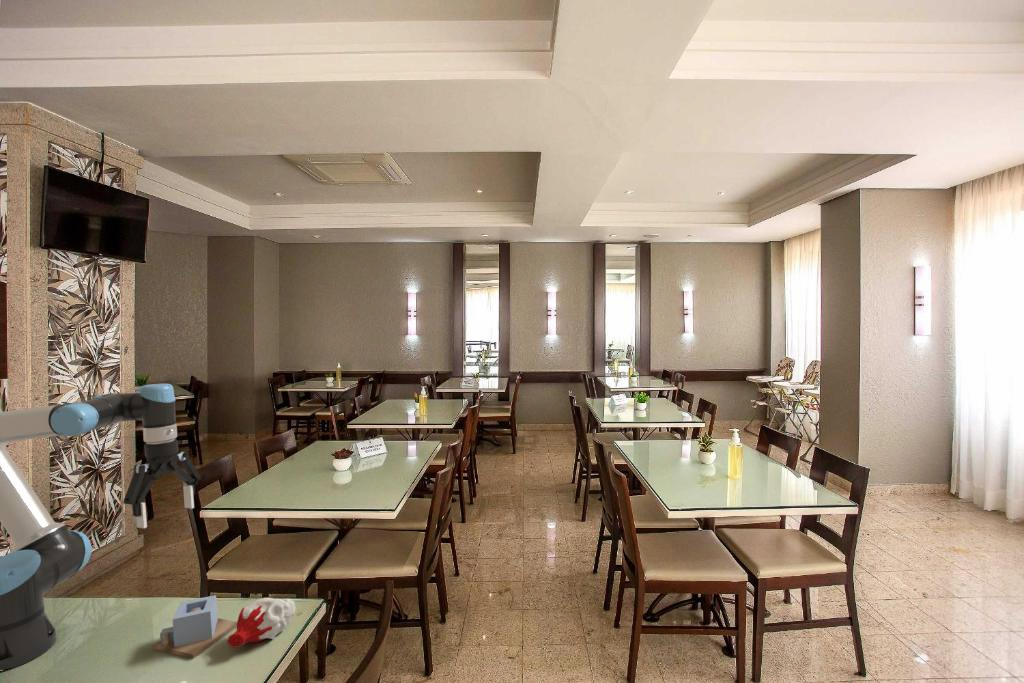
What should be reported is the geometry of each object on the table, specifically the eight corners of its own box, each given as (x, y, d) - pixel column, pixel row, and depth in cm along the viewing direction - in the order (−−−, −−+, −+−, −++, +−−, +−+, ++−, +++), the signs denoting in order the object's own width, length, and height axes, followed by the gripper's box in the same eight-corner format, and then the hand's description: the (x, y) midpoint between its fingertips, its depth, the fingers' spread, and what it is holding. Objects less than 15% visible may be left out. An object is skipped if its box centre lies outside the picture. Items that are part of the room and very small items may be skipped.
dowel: (162, 646, 124) (161, 634, 124) (166, 643, 125) (166, 631, 125) (165, 647, 123) (164, 635, 123) (170, 644, 125) (169, 632, 124)
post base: (153, 649, 124) (151, 621, 124) (200, 618, 137) (199, 593, 136) (193, 658, 120) (191, 630, 120) (238, 625, 133) (236, 600, 132)
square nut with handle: (217, 620, 134) (215, 595, 133) (212, 638, 126) (210, 611, 126) (166, 632, 129) (164, 605, 129) (157, 651, 122) (155, 623, 122)
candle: (300, 621, 133) (255, 666, 119) (266, 614, 137) (218, 656, 123) (295, 590, 131) (249, 632, 117) (261, 584, 135) (212, 623, 121)
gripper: (123, 454, 125) (129, 538, 126) (211, 430, 148) (216, 501, 150) (102, 452, 127) (108, 535, 128) (192, 429, 151) (197, 499, 152)
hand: (166, 517), depth 139 cm, fingers open, 13 cm apart
